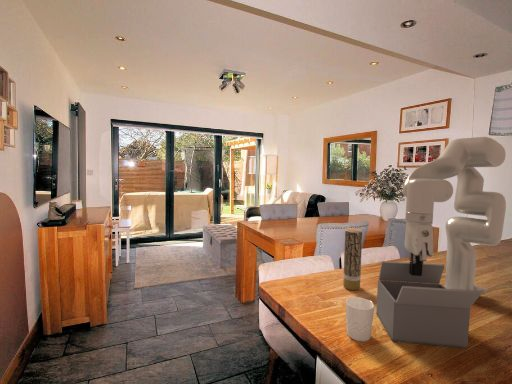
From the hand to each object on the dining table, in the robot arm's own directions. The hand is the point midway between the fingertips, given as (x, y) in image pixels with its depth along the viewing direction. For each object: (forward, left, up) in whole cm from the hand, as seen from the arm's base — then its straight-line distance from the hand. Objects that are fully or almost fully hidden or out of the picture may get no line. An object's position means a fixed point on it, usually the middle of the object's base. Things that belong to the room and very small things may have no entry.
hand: (415, 274), depth 90 cm
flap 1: (0, -3, -1) cm, 4 cm away
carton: (0, +3, -16) cm, 17 cm away
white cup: (+19, +9, -17) cm, 27 cm away
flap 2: (0, +13, -1) cm, 13 cm away
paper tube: (+14, -27, -17) cm, 34 cm away
